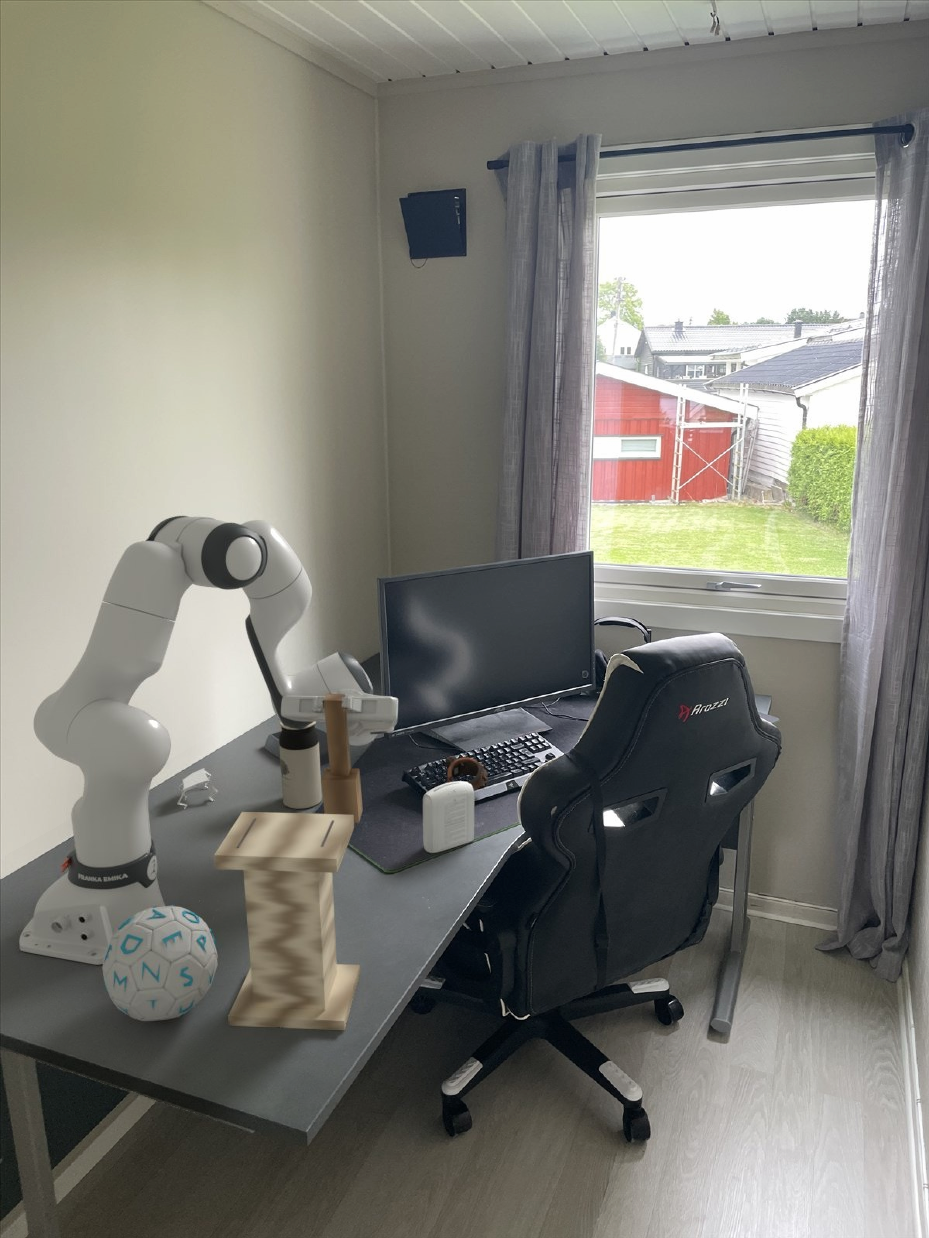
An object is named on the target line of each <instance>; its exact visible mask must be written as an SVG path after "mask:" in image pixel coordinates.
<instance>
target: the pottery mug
mask: <svg viewBox="0 0 929 1238" xmlns="http://www.w3.org/2000/svg"><path fill="white" fill-rule="evenodd" d="M444 763H445V766H446V768H447V775H446V776H447V777H446V781H447V783H449V782H456V781H457V780H454V781H453V780H452V777H457V776H460V777H461V775H462V774H463V775H471V776H476V777H475V778H474V779H472V780H467V782H468V783H469V784H471V785H472V787H473V790H474V792H475V791H476V790H478V789H479V788H480V787H486V785H485V784H484V781H483V779H484V780H485V781H487V782H488V780H489V779H488V777H487V776H488V775H489V774H488V771H487V770H486V769H485V768H484V765H483V764H482V763H480V762H479V761H478V760H476V759H475V758H473V757H459V758H456V757H455V756H452V755H449V756H448V757H446V759H445V760H444ZM463 775H462V776H463ZM482 778H483V779H482Z"/></svg>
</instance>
